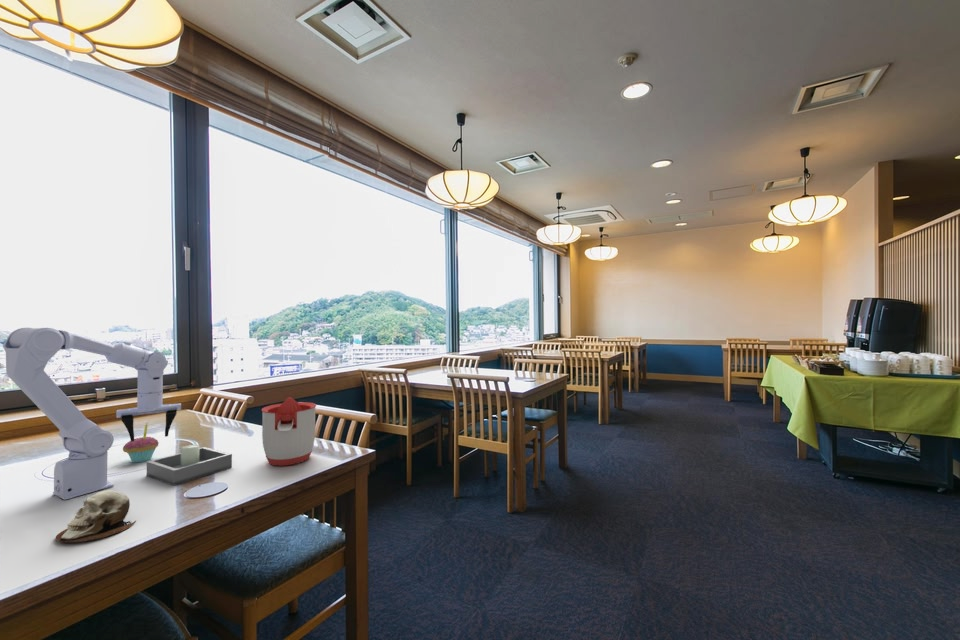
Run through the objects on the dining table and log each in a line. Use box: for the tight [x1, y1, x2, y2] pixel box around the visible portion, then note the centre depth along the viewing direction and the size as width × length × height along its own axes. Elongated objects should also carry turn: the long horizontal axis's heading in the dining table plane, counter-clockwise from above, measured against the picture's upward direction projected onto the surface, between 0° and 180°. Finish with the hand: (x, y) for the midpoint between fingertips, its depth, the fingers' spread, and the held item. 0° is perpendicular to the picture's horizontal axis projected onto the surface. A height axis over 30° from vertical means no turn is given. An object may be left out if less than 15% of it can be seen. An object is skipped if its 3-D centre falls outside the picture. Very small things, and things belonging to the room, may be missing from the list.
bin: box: [146, 446, 233, 486], centre depth 114 cm, size 15×15×4 cm
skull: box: [55, 490, 137, 544], centre depth 82 cm, size 12×10×10 cm
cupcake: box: [122, 422, 160, 463], centre depth 124 cm, size 9×8×12 cm
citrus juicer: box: [261, 396, 317, 467], centre depth 122 cm, size 16×17×20 cm
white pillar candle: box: [180, 444, 201, 467], centre depth 114 cm, size 4×4×6 cm
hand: (149, 438), depth 115 cm, fingers open, 7 cm apart
